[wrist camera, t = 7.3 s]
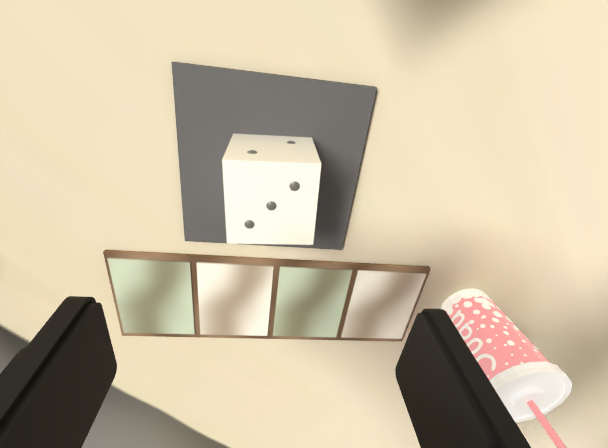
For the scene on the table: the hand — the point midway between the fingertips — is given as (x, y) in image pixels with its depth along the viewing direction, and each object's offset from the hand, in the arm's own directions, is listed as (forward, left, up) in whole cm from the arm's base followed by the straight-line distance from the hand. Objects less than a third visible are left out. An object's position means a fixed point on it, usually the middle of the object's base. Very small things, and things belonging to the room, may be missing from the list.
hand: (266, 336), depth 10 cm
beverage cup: (-19, +12, -14) cm, 27 cm away
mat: (0, 0, -14) cm, 14 cm away
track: (-1, +12, -14) cm, 19 cm away
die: (0, 0, -14) cm, 14 cm away
